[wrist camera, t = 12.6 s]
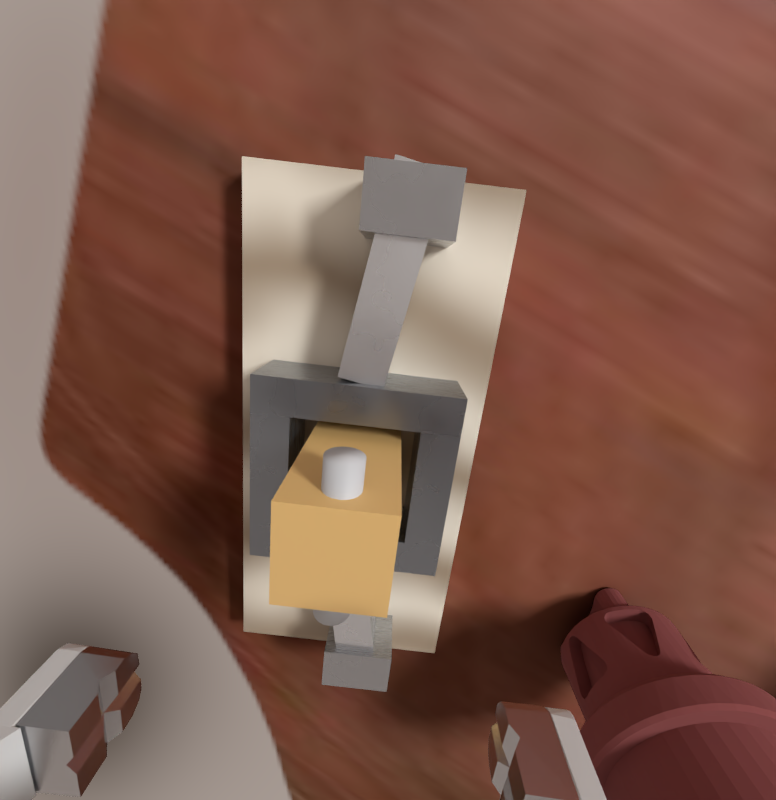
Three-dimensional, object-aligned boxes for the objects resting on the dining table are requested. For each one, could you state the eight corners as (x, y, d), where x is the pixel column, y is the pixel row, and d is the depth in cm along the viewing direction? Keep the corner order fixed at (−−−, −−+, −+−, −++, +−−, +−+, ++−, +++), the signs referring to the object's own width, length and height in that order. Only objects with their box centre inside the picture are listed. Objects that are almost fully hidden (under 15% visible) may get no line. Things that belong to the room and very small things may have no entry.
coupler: (389, 511, 21) (383, 644, 13) (316, 502, 21) (268, 631, 13) (404, 400, 19) (406, 481, 11) (324, 390, 19) (272, 466, 11)
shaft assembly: (410, 651, 24) (411, 701, 21) (267, 634, 24) (249, 683, 21) (491, 184, 16) (511, 163, 13) (277, 158, 16) (250, 132, 13)
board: (432, 631, 25) (434, 653, 24) (252, 611, 25) (243, 631, 24) (516, 197, 17) (526, 190, 16) (255, 166, 17) (241, 156, 16)
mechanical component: (529, 688, 26) (524, 572, 24) (680, 678, 26) (693, 556, 23) (633, 1015, 15) (647, 863, 12) (915, 1012, 14) (1005, 849, 11)
